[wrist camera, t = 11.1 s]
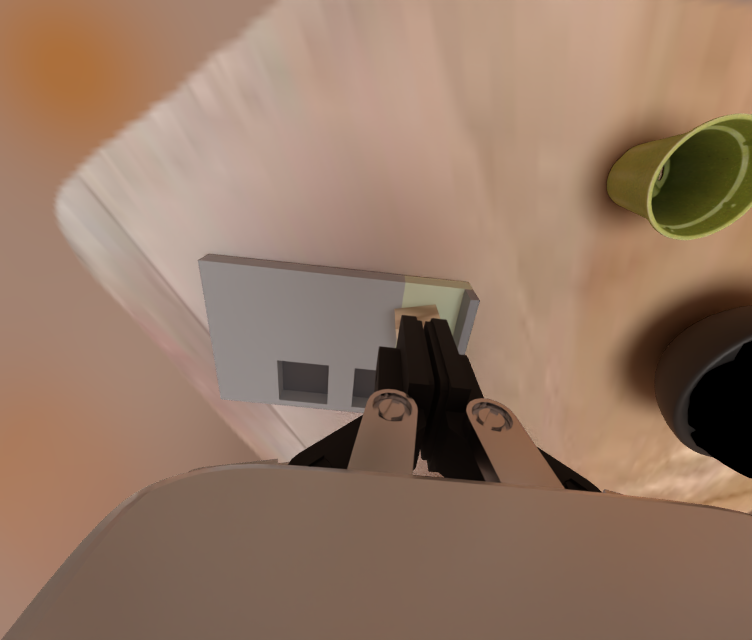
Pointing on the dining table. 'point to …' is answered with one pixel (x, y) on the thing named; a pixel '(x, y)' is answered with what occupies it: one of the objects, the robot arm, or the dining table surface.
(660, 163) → the plant pot
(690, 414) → the black bowl plant
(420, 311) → the block
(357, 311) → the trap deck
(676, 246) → the dining table surface
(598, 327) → the dining table surface
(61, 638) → the robot arm
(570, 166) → the dining table surface
